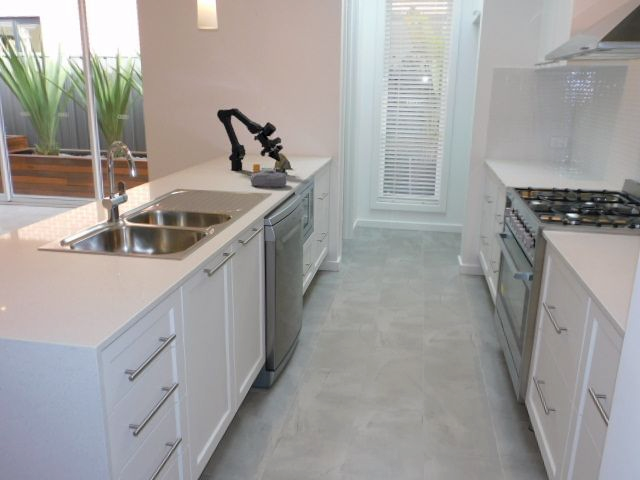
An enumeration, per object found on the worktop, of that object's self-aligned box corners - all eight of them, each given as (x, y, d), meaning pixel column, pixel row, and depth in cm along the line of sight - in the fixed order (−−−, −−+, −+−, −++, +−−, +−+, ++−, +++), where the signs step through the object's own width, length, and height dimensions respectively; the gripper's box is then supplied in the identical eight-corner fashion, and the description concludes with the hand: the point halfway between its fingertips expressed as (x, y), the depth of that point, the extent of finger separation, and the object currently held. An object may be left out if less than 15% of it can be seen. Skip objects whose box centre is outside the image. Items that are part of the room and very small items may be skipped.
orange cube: (253, 172, 351) (253, 164, 349) (253, 171, 354) (253, 163, 353) (259, 172, 351) (259, 164, 350) (259, 171, 355) (259, 163, 353)
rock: (294, 164, 373) (281, 161, 376) (292, 155, 366) (279, 151, 369) (287, 175, 367) (274, 172, 371) (285, 166, 360) (271, 163, 364)
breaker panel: (260, 175, 339) (260, 168, 338) (260, 171, 355) (260, 164, 354) (285, 175, 340) (286, 169, 339) (285, 171, 357) (285, 165, 356)
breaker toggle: (277, 170, 342) (284, 160, 338) (280, 169, 344) (287, 160, 341) (279, 172, 342) (286, 162, 338) (282, 171, 344) (289, 161, 340)
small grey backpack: (288, 184, 313) (253, 182, 315) (288, 169, 311) (253, 168, 313) (283, 189, 299) (246, 187, 301) (283, 174, 297) (246, 172, 299)
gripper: (265, 133, 331) (280, 154, 329) (280, 131, 347) (295, 151, 346) (253, 145, 336) (269, 166, 335) (269, 143, 352) (284, 162, 351)
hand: (280, 161), depth 341 cm, fingers closed
